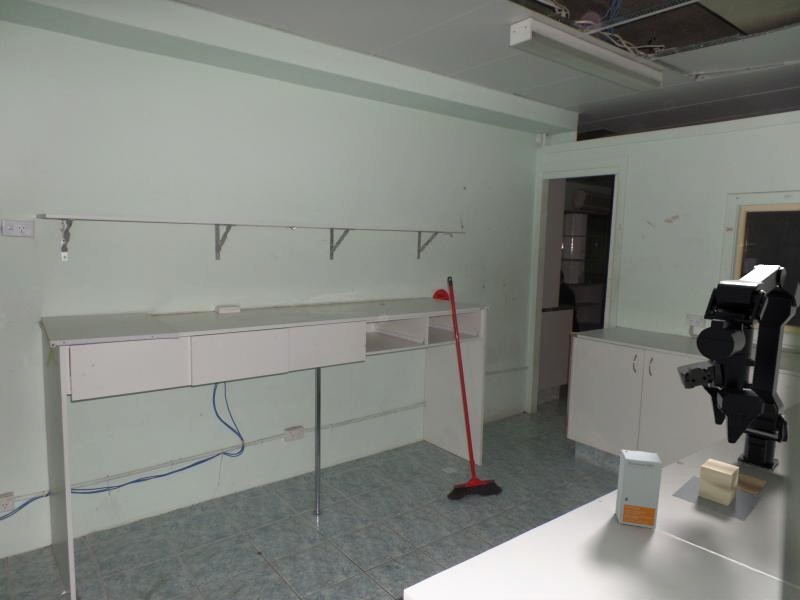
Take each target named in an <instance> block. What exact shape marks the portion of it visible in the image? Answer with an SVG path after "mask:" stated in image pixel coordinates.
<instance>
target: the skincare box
mask: <svg viewBox="0 0 800 600" xmlns="http://www.w3.org/2000/svg"><path fill="white" fill-rule="evenodd" d="M662 470H663V462H662V461H661V458H660V457H659V454H658V453H656V452H649V451H648V452H647V451H641V450H628V449H620V457H619V468H618V479H617V488H616V489H617V491H616V498H615V500H616V501H615V514H616V517H617V521H618V524H622V525H629V526H635V527H636V526H637V527H642V528H648V529H652V528H653V530H655V529H656V526H657V519H658V508H659V501H660V500H659V499H660V489H661V481H662Z"/></svg>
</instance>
